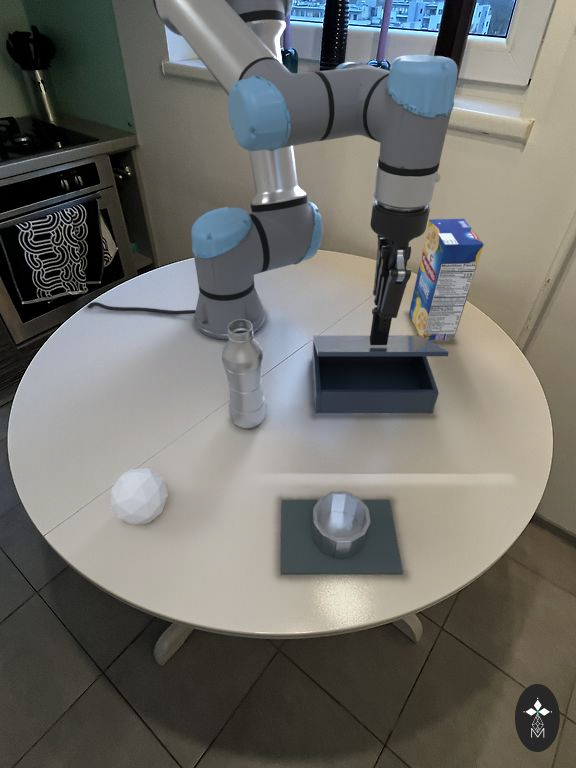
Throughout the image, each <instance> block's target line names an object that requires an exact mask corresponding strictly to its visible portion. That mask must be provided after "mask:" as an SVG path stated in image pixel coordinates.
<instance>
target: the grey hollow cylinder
mask: <svg viewBox="0 0 576 768" xmlns="http://www.w3.org/2000/svg"><path fill="white" fill-rule="evenodd" d="M317 500H318V502H317V503H316V505H315V507H314V508H313V519H312V538H313V541H314V542H315V544H316V545H317V547H318V548H319V550H320V551H321V552H323V553H325V554H327V555H328V556H331V557H332V558H348V557H349V558H350V557H352V556H353V555H355V554H357V553H358V552H360V551H361V550H362V548H363V546H364V543H365V541H366V539H367V535H368V531H369V526H370V515H369V509H368V508H367V506H366V505H365V504H364V502H363V501H362V500H363V499H361V498H360V497H359V496H357V495H355V494H353V493H351V492H350V491H349V492H348V491H343V490H341V491H334V490H333V491H330V492H328V493H326V494H324V495H323V496H320V497H319V498H318V499H317Z"/></svg>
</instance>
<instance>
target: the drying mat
mask: <svg viewBox="0 0 576 768" xmlns="http://www.w3.org/2000/svg"><path fill="white" fill-rule="evenodd" d="M318 500H319V499H281V516H280V517H281V519H280V533H281V534H280V575H403V574H404V570H403V565H402V559H401V554H400V548H399V543H398V539H397V537H398V536H397V532H396V526H395V522H394V517H393V511H392V506H391V501H390V499H361V500H362V501H363V502H364V504H365V505H366V506H367V508H368V509H369V515H370V526H369V531H368V535H367V539H366V541H365V543H364V546H363V548H362V550H361V551H360V552H358V553H357V554H355V555H353V556H352V557H350V558H349V557H348V558H332V557H331V556H328V555H327V554H325V553H323V552H321V551H320V550H319V548H318V547H317V545H316V544H315V542H314V541H313V538H312V519H313V508H314V507H315V505H316V503H317V502H318Z"/></svg>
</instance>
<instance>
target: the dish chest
mask: <svg viewBox="0 0 576 768" xmlns="http://www.w3.org/2000/svg"><path fill="white" fill-rule="evenodd" d="M311 363H312V364H311V365H312V380H313V381H312V382H313V398H314V413H315V414H433V412H434V410H435V407H436V403H437V400H438V397H439V394H440V392H439V389H438V386H437V382H436V380H435V377H434V374H433V372H432V368H431V365H430V363H429V360H428V356H318V354H317V351H316V347H315V344H314V340H313V339H312V354H311Z"/></svg>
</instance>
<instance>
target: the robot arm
mask: <svg viewBox="0 0 576 768" xmlns="http://www.w3.org/2000/svg"><path fill="white" fill-rule="evenodd" d="M294 1H295V0H150V2H151V5H152V7H153V9H154V11H155V13H156V15H157V16H158V17H159V19H160V21H161V22H162V23H163V24H164V26H165V27H166V28H167V29H168V30H169V31H170V32H172V33H173V34H174V35H177V36H179V37H182V38H183V39H184V40H185V42H186V43H187V44H188V45H189V46H190V48H191V49H192V51H193V52H194V53H195V54H196V56H197V57H198V59H199V60H200V62H202V64H203V65H204V66H205V68H206V69H207V70H208V72H209V73H210V74H211V75H212V77H213V78H214V80H215V81H216V82H217V83H218V84H219V86H220V87H221V88H222V89H223V91H224V92H225V94H226V95H227V96H228V100H227V112H228V119H229V123H230V128H231V130H232V131H233V134H234V138H235V140H236V142H237V144H238V145H239V146H240V147H241V148H242V149H243V150H245V151H248V154H249V160H250V165H251V166H250V167H251V172H252V178H253V184H254V191H255V194H254V196H253V197H252V199H251V201H250V202H249V204H250V211H251V213H249V212H248V211H247V210H245V209H244V208H241V207H236V206H232V207H228V206H224V207H218V208H214V209H212V210H209V211H207V212H205V213H204V214H202V215H200V216H199V217H198V218H197V219H196V220H195V222H193V225H192V226H191V230H190V231H191V232H190V234H191V252H192V254H193V258H194V264H195V266H194V267H195V272H196V277H197V283H198V288H199V289H198V291H199V293H198V298H197V302H196V307H195V309H185V310H184V309H183V310H169V309H159V308H153V307H151V308H150V307H138V306H135V307H134V306H110V305H106V304H104V303H101V302H97V301H93V302H90V303H89V304H88V305H87V308H88V309H90V308H93V307H99V308H102V309H104V310H108V311H119V312H147V313H157V314H167V315H194V317H195V318H194V319H195V324H196V327H197V329H198V331H200V332H201V333H202V334H203V335H205V336H206V337H208V338H212V339H215V340H223V341H224V340H225V341H229V340H228V325H229V324H230V323H231V322H232V321H234V320H238V319H245V320H248V321H250V322H251V323H252V327H253V333H254V334H255V333H257V332H258V331H259V330H260V329H261V328H262V327H263V325H264V324H265V323H264V322H265V309H264V306H263V303H262V301H261V299H260V296H259V294H258V292H257V290H256V286H255V275H258V274H262V273H265V272H268V271H272V270H276V269H280V268H284V267H287V266H291V265H293V266H294V265H298V264H300V263H302V262H305V261H307V260H308V261H309V260H310V259H312V258H314V256H316V255H317V253H318V251H319V249H320V247H321V245H322V240H323V220H322V216H321V213H319V208H318V207H317V205H316V204H315V203H313V201H309V200H308V194H307V192H306V191H305V190H304V189H302V188H301V187H300V186H299V181H298V174H297V167H296V159H295V151H294V146H299V145H305V144H309V143H310V144H311V143H315V142H323V141H329V140H335V139H343V138H347V137H348V138H349V137H354V136H362V137H365V138H368V139H370V140H373V141H375V142H378V143H380V144H379V155H378V160H377V165H376V172H375V180H374V188H373V189H374V190H373V191H374V192H373V197H374V199H375V200H373V201H372V207H371V216H370V223H369V224H370V228H371V230H372V231H373V232H374V233H375V234H376V235H377V236H376V237H377V250H376V261H375V272H374V282H373V290H372V294H373V296H374V300H373V303H374V307H373V308H372V309H371V310H372V311H371V313H372V321H371V328H370V334H369V336H370V344H371V345H387V342H388V337H389V336H390V331H391V325H392V320H393V319H397V318H398V315H399V311H400V307H401V304H402V301H403V297H404V294H405V291H406V288H407V284H408V282H409V280H410V278H411V277H412V270H411V269H410V268H407V265H408V261H409V260H410V258H411V253H412V247H411V245H410V242H411V241H412V240H414V239H417V238H419V237H421V236H422V235H423V234H424V233H425V232H426V231H427V227H428V222H429V216H430V211H431V206H430V203H431V202H432V200H433V195H434V190H435V185H436V183H439V182H440V180H441V175H440V174H439V173H438V172H439V168H440V163H441V158H442V153H443V149H444V145H445V141H446V137H447V136H446V135H447V132H448V127H449V123H450V119H451V115H452V111H454V110H453V109H454V107H455V96H456V95H455V94H456V87H457V80H458V73H459V71H458V70H459V69H458V65H457V63H456V61H454V59H452V58H450V57H445V56H441V55H430V54H407V55H406V54H405V55H401V56H398V57H396V58H395V59H393V60H392V62H391V65H390V67H389V70H387V69H384V68H381V67H377V66H373V65H371V64H370V65H369V63H367V62H362V61H361V62H352V61H347V62H343V63H341V64H338V66H336V67H334V69H328V70H320V71H319V70H318V71H317V70H315V71H310V72H309V71H308V72H297V73H295V72H291V71H290V70H289V69H288V68H287V67H286V66H285V65H284V64H283V60H282V53H281V45H280V39H281V36H282V34H284V31H285V29H286V27H287V24H286V18H287V17H289V15H290V13H291V11H292V9H293V6H294V3H295V2H294Z"/></svg>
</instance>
